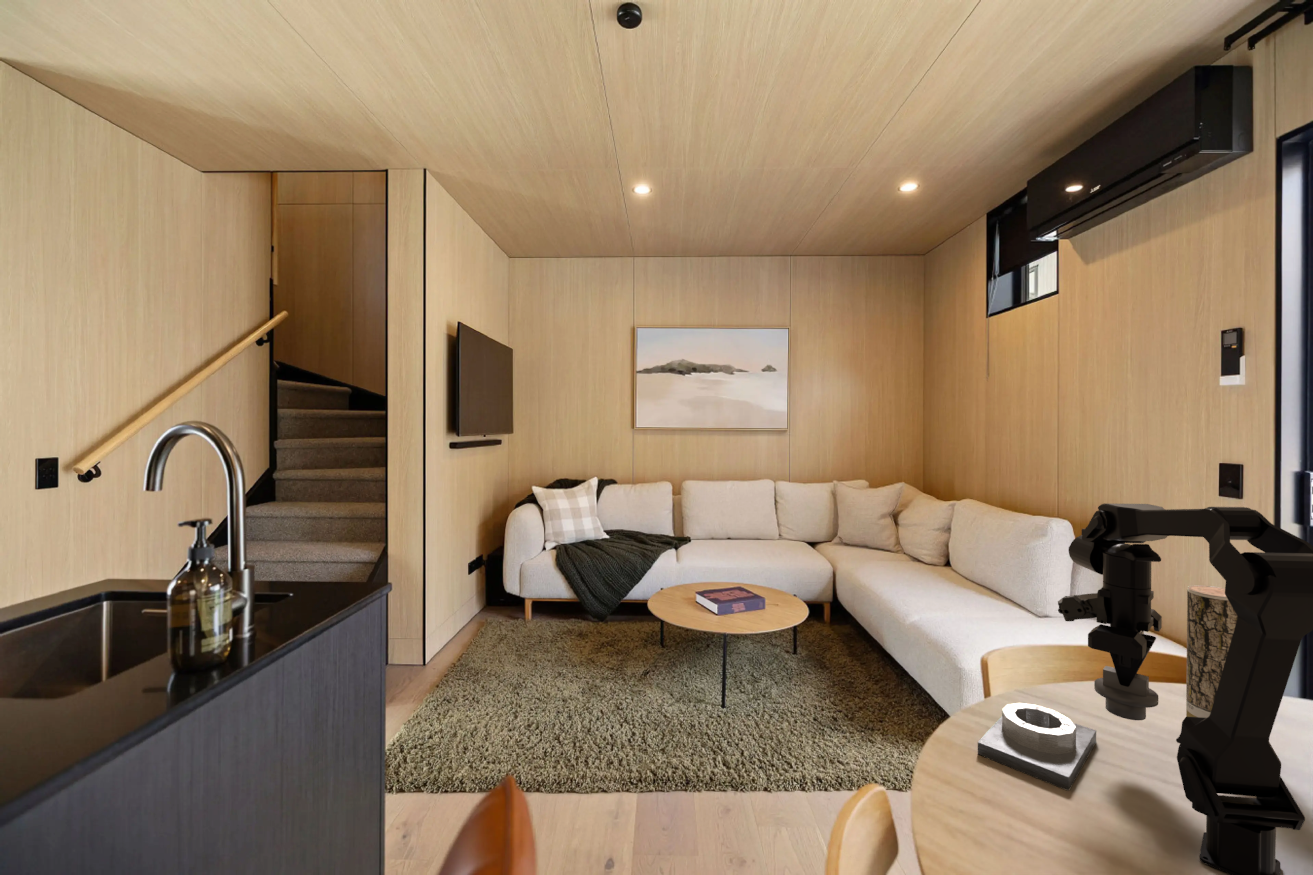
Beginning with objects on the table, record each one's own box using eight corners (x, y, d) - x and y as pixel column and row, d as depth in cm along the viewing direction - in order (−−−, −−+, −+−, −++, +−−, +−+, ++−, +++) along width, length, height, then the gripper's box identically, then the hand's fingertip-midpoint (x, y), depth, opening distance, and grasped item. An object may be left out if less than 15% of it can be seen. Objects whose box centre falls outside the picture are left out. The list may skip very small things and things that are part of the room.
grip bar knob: (1153, 731, 80) (1154, 689, 80) (1089, 711, 86) (1089, 672, 86) (1161, 712, 85) (1162, 673, 85) (1100, 695, 91) (1100, 658, 91)
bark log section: (1195, 745, 90) (1196, 594, 90) (1179, 724, 96) (1180, 583, 96) (1252, 756, 87) (1254, 599, 86) (1232, 734, 93) (1234, 588, 92)
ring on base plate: (1068, 790, 79) (1068, 756, 79) (977, 754, 88) (977, 723, 88) (1096, 741, 91) (1096, 712, 91) (1013, 714, 100) (1013, 687, 100)
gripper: (1077, 563, 97) (1077, 650, 98) (1047, 585, 85) (1047, 684, 86) (1162, 576, 89) (1161, 671, 89) (1142, 602, 77) (1141, 711, 77)
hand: (1125, 683), depth 86 cm, fingers closed on grip bar knob
